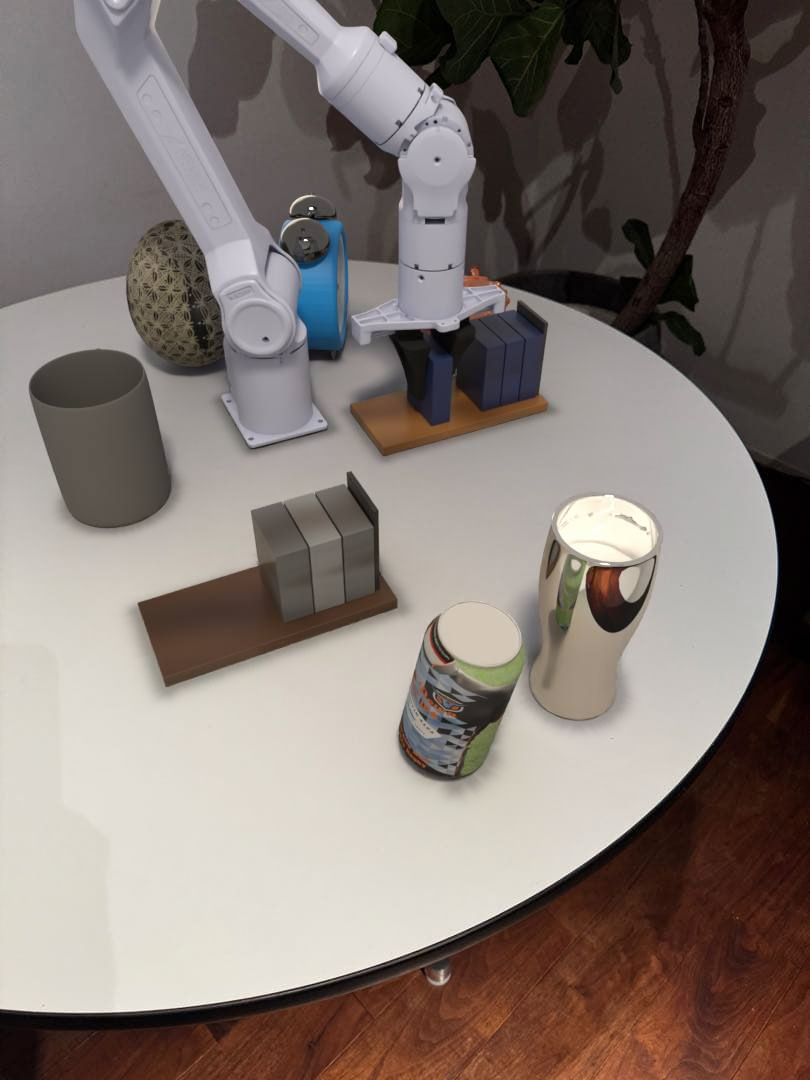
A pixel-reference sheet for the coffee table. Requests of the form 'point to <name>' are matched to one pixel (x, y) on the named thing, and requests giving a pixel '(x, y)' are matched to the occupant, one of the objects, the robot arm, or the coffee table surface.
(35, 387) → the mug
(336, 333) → the alarm clock
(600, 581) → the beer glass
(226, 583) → the walnut book board
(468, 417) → the oak book board
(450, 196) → the robot arm
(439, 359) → the navy book
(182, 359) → the decorative egg
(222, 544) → the coffee table surface
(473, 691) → the beverage can
